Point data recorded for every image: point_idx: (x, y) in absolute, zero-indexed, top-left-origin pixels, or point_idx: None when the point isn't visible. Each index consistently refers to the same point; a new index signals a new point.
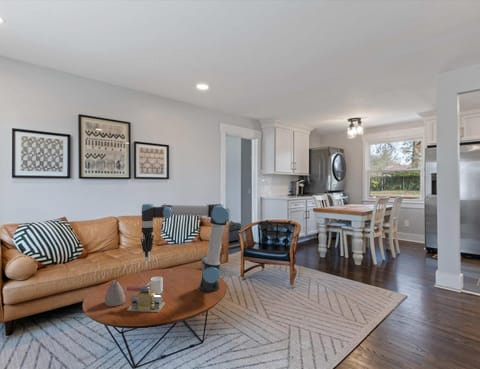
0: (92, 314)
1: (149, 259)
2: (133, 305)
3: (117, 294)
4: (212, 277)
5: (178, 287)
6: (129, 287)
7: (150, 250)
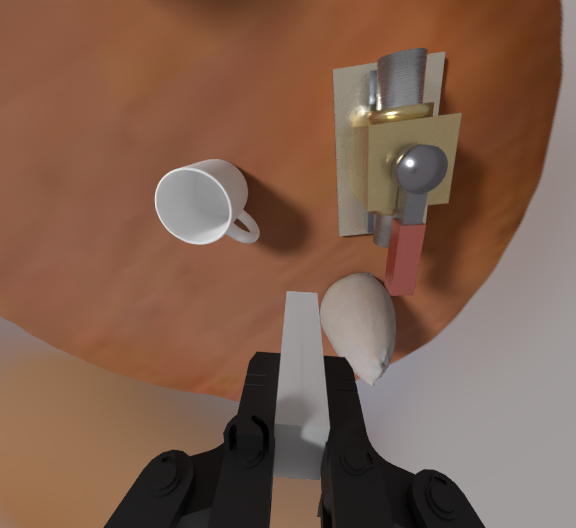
0: (446, 324)
1: (292, 304)
2: None
3: (389, 312)
4: None
5: (111, 92)
6: (415, 279)
7: (261, 440)
